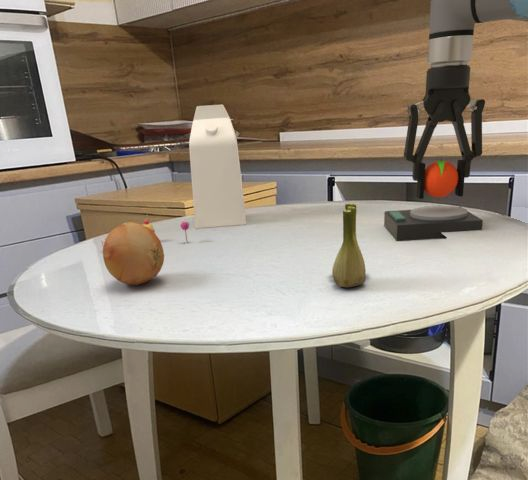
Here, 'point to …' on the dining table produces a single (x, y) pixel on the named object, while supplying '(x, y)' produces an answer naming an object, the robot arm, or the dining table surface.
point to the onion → (133, 253)
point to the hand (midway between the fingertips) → (439, 196)
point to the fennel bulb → (349, 253)
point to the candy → (146, 223)
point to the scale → (430, 222)
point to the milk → (215, 169)
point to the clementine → (440, 178)
